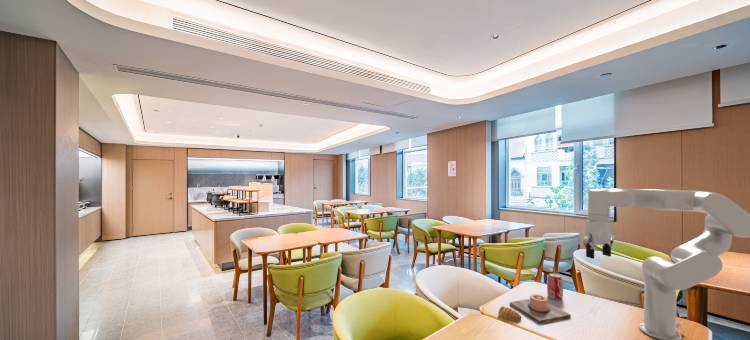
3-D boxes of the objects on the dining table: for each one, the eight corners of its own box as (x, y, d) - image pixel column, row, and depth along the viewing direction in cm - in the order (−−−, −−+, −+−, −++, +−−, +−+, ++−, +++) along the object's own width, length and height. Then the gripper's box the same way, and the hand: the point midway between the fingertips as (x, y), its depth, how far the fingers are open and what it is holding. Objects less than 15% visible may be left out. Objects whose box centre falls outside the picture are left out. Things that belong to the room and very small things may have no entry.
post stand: (538, 300, 150) (538, 287, 150) (570, 317, 132) (570, 303, 132) (509, 305, 145) (509, 292, 145) (539, 323, 127) (539, 309, 127)
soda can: (562, 296, 154) (562, 274, 154) (563, 301, 148) (563, 278, 148) (547, 293, 158) (547, 271, 157) (547, 298, 152) (547, 275, 151)
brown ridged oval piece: (523, 319, 132) (523, 310, 132) (517, 324, 127) (517, 316, 127) (502, 311, 139) (502, 303, 139) (496, 316, 134) (496, 308, 134)
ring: (538, 303, 143) (538, 293, 143) (550, 310, 136) (550, 299, 136) (527, 305, 141) (527, 295, 141) (538, 312, 134) (539, 301, 134)
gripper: (604, 215, 132) (604, 252, 132) (575, 217, 127) (575, 255, 127) (622, 218, 124) (622, 257, 125) (592, 220, 120) (592, 261, 120)
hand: (598, 256), depth 126 cm, fingers open, 9 cm apart
